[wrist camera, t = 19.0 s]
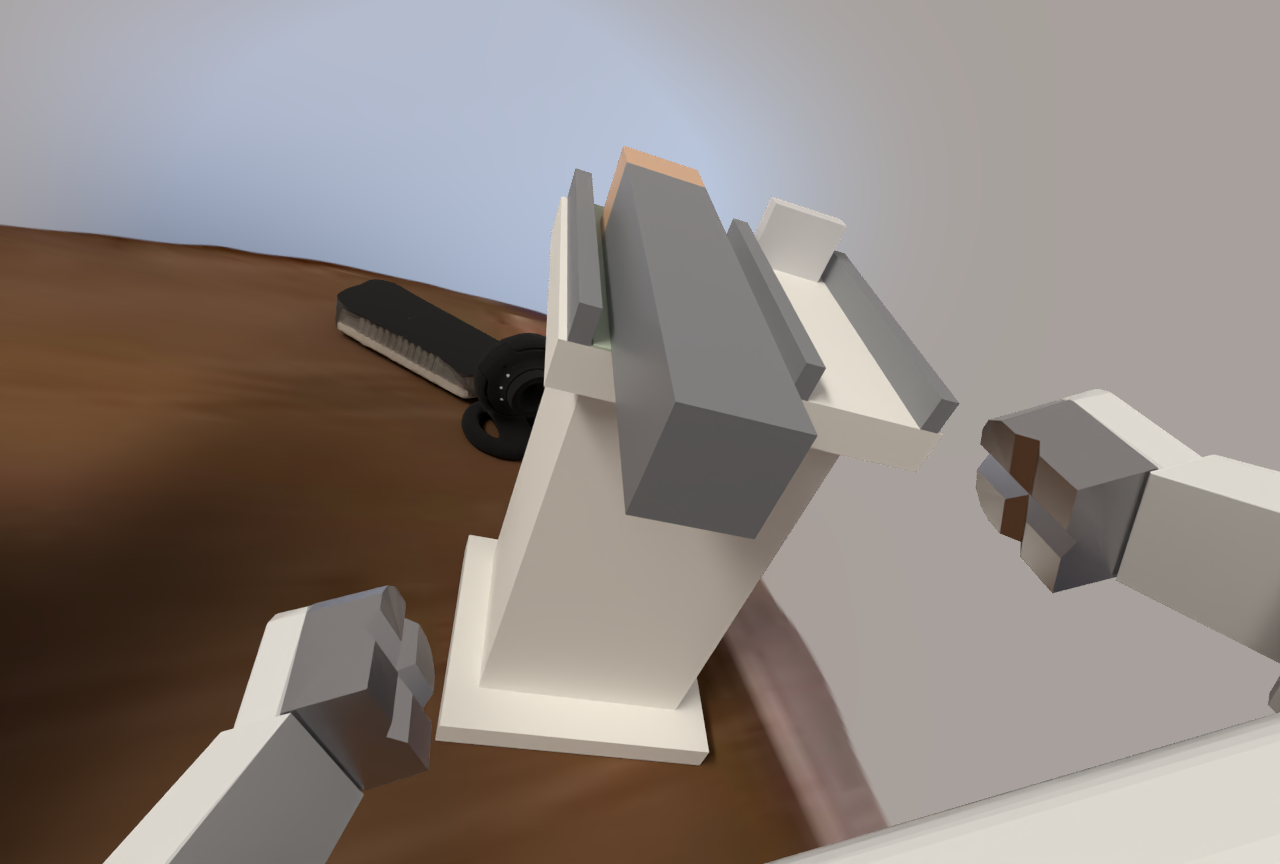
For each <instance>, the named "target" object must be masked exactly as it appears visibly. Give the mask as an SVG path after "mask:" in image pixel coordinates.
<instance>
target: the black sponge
mask: <svg viewBox="0 0 1280 864" xmlns="http://www.w3.org/2000/svg"><path fill="white" fill-rule="evenodd" d="M335 322H336V326H337V328H338V329H339V330H341V331H342V332H343V333H345V334H347V335H348V336H350V337H352V338H353V339H355V340H357V341H359V342H360V343H361V344H362V345H364V346H366V347H370V348H371V349H373V350H375V351H377V352H379V353H380V354H382V355H384V356H386V357H388V358H389V359H391V360H393V361H395V362H397V363H398V364H400V365H402V366H404V367H406V368H408V369H409V370H411V371H413V372H415V373H417V374H418V375H420V376H422V377H424V378H426V379H427V380H429V381H431V382H433V383H435V384H437V385H439V386H440V387H442V388H444V389H446V390H448V391H450V392H451V393H453V394H455V395H457V396H459V397H461V398H475V397H477V394H476V392H475V387H474V374H475V370H476V367H477V366H478V363H479V361H480V360H481V358H482V356H483V355H484V354H485V353H486V351H487V350H488V349H489V348H490V347H491V346H492V345H494V344H495V343H497V342H499V341H498V340H496V339H494V338H493V337H491V336H489V335H487V334H486V333H483V332H482V331H480V330H478V329H476V328H474V327H473V326H471V325H469V324H467V323H465V322H463V321H462V320H460V319H458V318H456V317H454V316H452V315H451V314H449V313H447V312H445V311H443V310H441V309H440V308H438V307H436V306H434V305H432V304H430V303H429V302H427V301H425V300H423V299H421V298H419V297H418V296H416V295H414V294H412V293H411V292H409V291H407V290H406V289H404V288H402V287H401V286H399V285H397V284H395V283H392V282H388V281H384V280H376V279H374V280H369V281H367V282H365V283H363V284H361V285H357V286H354V287H350V288H348V289H346V290H344V291H342V292H340V293H339V294H338V295H337V302H336V309H335Z"/></svg>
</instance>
